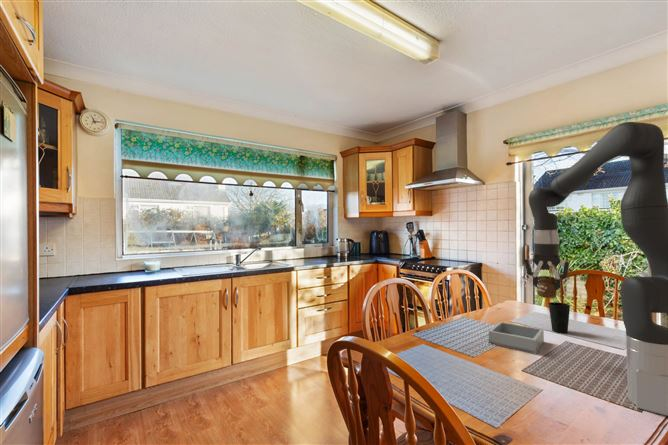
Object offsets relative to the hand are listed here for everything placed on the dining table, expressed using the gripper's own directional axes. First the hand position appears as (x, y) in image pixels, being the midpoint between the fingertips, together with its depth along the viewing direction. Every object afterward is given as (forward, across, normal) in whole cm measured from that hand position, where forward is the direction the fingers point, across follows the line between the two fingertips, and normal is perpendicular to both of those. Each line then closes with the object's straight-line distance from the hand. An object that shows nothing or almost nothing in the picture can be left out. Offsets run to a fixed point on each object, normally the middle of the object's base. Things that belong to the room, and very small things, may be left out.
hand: (546, 288), depth 114 cm
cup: (+25, -1, +32) cm, 40 cm away
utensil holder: (+3, 0, 0) cm, 3 cm away
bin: (+24, -11, +5) cm, 27 cm away
